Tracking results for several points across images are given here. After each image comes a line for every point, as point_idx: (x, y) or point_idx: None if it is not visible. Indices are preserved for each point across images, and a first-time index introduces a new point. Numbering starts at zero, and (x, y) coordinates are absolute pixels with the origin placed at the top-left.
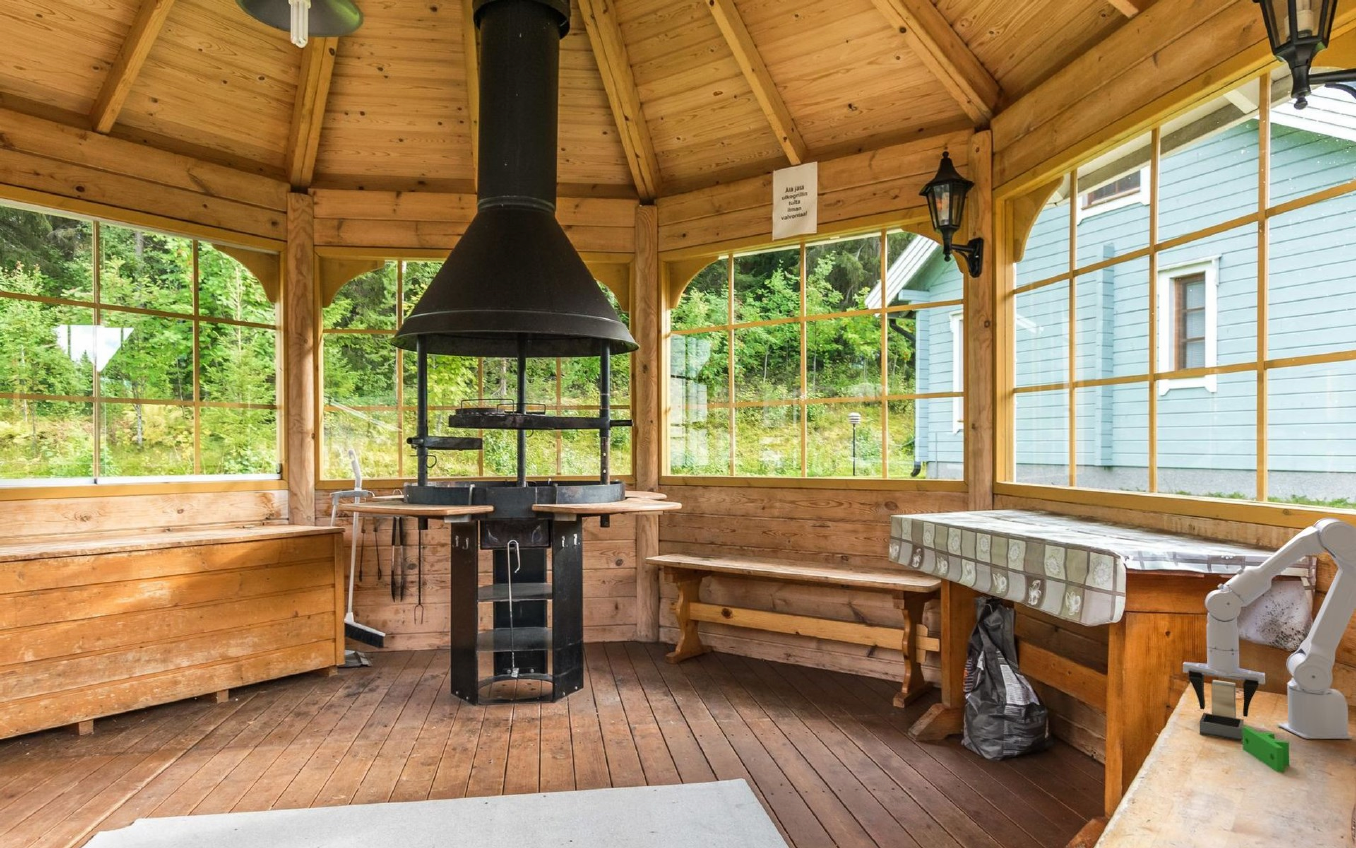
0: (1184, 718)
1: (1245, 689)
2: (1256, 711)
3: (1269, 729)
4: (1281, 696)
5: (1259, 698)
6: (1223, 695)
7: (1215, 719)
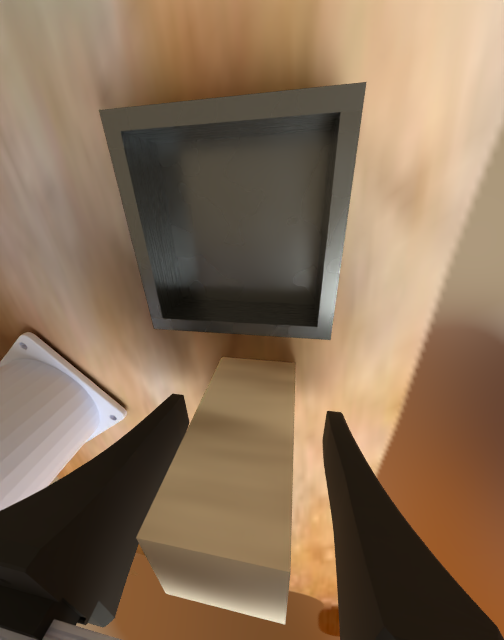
0: (401, 356)
1: (57, 518)
2: None
3: (133, 375)
4: None
5: None
6: (223, 472)
7: (273, 313)
